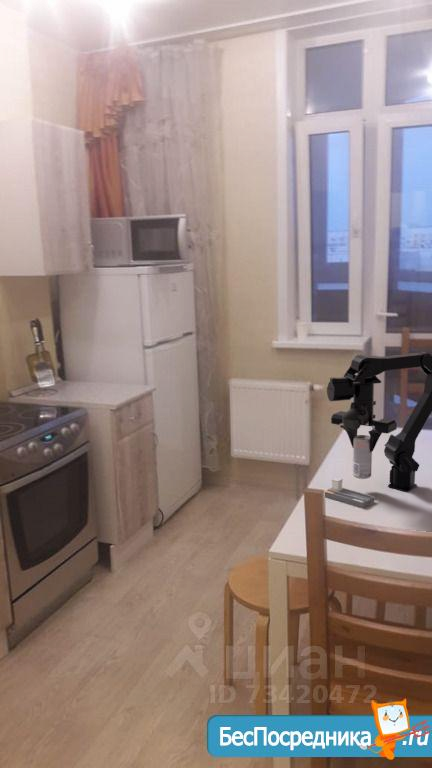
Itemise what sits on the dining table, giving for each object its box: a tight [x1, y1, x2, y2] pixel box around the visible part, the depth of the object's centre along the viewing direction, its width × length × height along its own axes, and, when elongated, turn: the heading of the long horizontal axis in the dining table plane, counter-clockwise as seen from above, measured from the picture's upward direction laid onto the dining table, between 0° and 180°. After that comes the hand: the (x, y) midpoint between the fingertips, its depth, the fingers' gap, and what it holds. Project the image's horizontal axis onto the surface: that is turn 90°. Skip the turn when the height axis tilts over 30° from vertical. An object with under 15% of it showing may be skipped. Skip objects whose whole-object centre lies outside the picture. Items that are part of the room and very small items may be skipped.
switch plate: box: [324, 486, 375, 509], centre depth 177 cm, size 13×6×2 cm, turn 46°
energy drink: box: [352, 434, 373, 480], centre depth 181 cm, size 5×5×12 cm
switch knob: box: [331, 477, 344, 492], centre depth 179 cm, size 2×2×4 cm
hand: (362, 449), depth 181 cm, fingers closed on energy drink, 5 cm apart
